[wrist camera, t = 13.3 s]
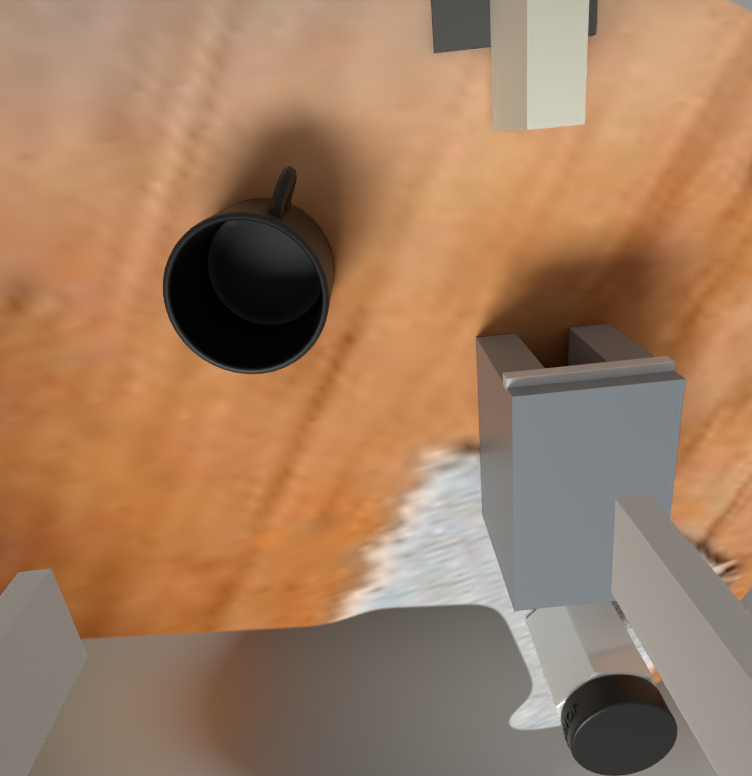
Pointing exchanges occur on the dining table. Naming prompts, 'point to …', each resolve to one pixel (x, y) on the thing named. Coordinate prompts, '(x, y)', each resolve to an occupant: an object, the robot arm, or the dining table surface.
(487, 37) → the mat
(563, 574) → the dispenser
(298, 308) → the mug
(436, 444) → the dining table surface
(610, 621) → the jar
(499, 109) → the cream upright slab
